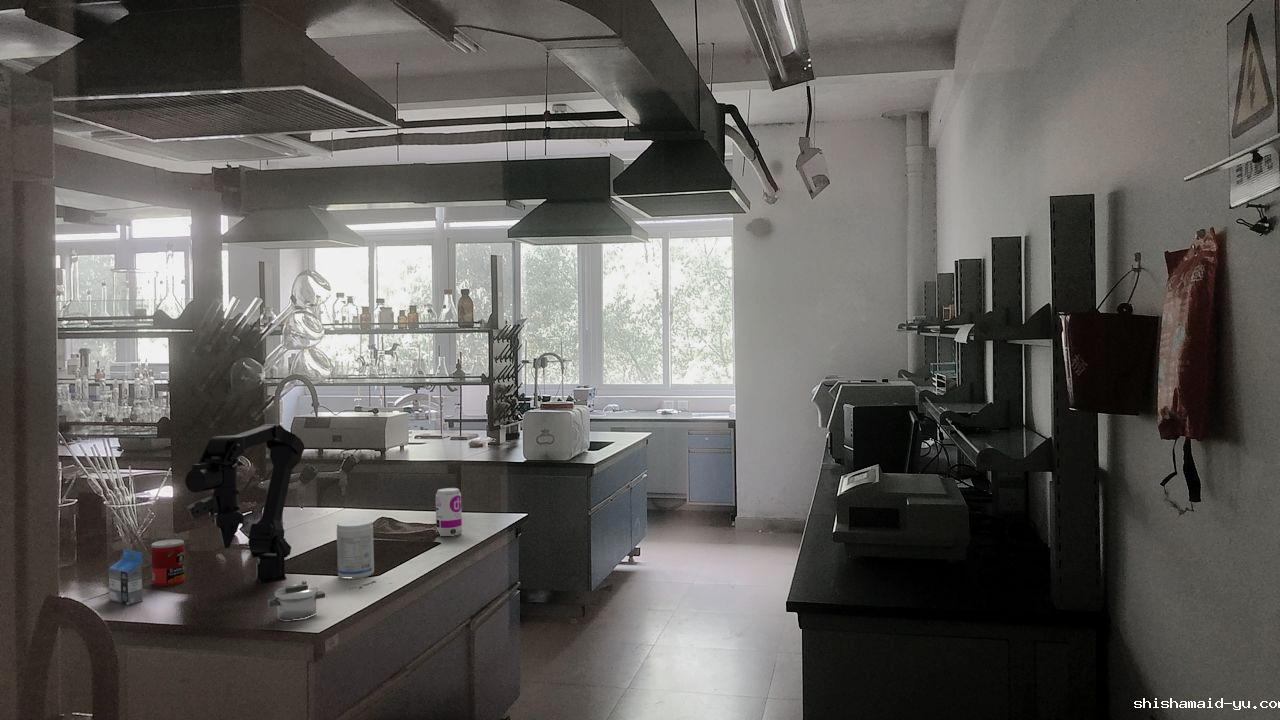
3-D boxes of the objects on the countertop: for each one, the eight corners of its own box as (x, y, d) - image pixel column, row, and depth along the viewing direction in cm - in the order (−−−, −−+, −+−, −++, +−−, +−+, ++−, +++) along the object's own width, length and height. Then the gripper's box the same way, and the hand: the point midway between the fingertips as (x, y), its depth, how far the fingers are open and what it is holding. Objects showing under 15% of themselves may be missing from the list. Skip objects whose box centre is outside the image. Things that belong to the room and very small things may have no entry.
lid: (271, 591, 200) (271, 583, 200) (313, 584, 205) (313, 577, 205) (278, 603, 191) (277, 595, 191) (321, 596, 196) (321, 588, 196)
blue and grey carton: (108, 600, 214) (106, 552, 213) (124, 596, 217) (123, 548, 217) (127, 605, 209) (126, 555, 209) (144, 601, 212) (142, 552, 212)
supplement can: (467, 533, 283) (466, 488, 283) (449, 538, 276) (448, 492, 276) (449, 531, 287) (448, 486, 287) (431, 535, 280) (430, 490, 280)
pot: (320, 605, 206) (319, 584, 206) (328, 615, 197) (327, 594, 197) (265, 614, 199) (264, 593, 199) (271, 625, 191) (271, 603, 191)
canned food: (171, 587, 225) (169, 546, 224) (145, 586, 226) (143, 545, 226) (192, 579, 232) (190, 539, 232) (166, 578, 234) (165, 538, 234)
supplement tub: (342, 571, 237) (341, 519, 237) (377, 570, 238) (376, 517, 238) (333, 581, 227) (332, 526, 227) (370, 579, 228) (368, 524, 228)
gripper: (186, 484, 217) (187, 545, 218) (192, 494, 202) (193, 559, 202) (234, 480, 223) (235, 539, 223) (243, 489, 207) (245, 553, 208)
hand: (226, 547), depth 214 cm, fingers closed
